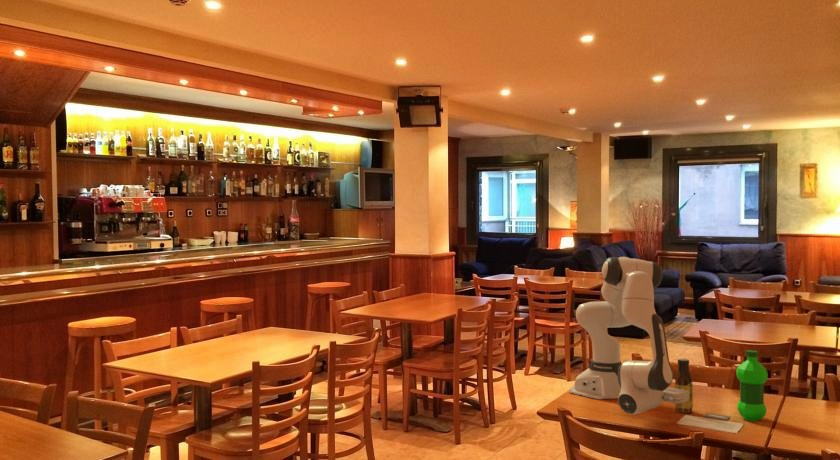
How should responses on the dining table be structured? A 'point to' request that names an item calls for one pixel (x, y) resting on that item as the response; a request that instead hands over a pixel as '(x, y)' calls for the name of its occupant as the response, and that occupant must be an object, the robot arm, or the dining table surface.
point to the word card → (716, 416)
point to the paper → (710, 424)
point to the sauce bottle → (684, 385)
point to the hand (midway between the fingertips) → (669, 387)
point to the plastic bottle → (751, 387)
